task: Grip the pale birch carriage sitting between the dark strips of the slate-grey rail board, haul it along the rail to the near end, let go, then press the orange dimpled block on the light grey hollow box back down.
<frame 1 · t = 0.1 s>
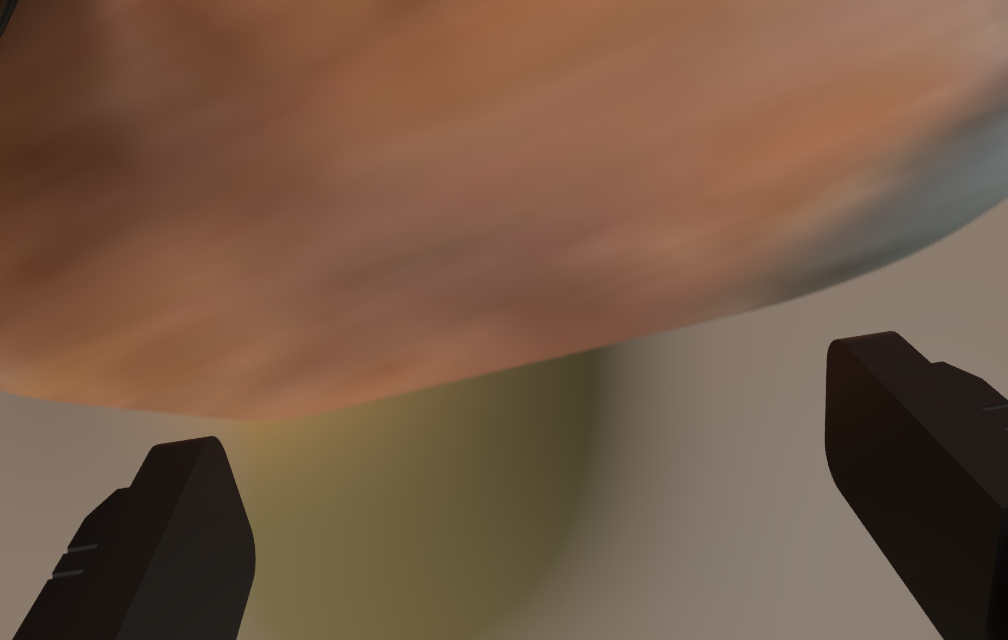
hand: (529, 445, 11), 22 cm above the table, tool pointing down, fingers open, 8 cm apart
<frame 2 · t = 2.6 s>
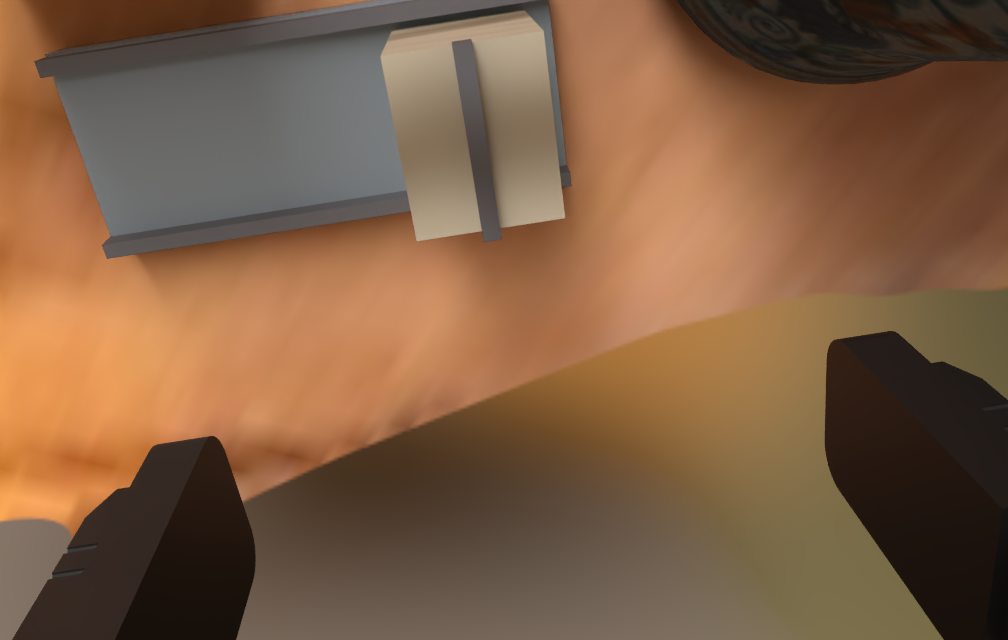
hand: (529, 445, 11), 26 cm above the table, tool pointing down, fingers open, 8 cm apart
rail: (324, 113, 35), on the table
carriage: (473, 120, 30), point 6 cm above the table, slide at 6.0 cm
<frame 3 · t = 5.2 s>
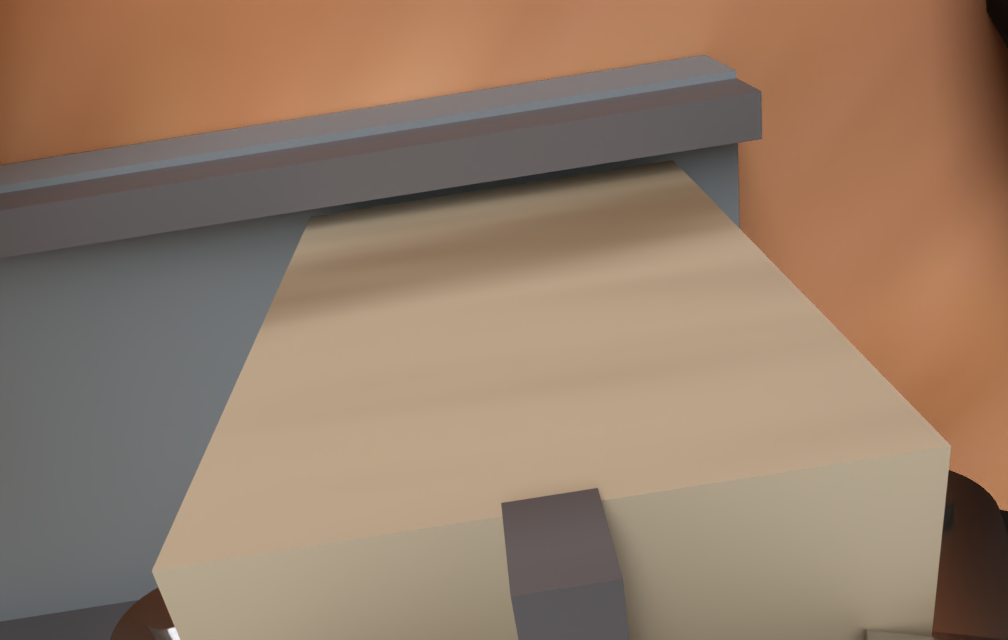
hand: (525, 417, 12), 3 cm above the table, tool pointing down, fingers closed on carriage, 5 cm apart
rail: (163, 381, 14), on the table
carriage: (550, 550, 9), point 6 cm above the table, slide at 6.0 cm, touching gripper
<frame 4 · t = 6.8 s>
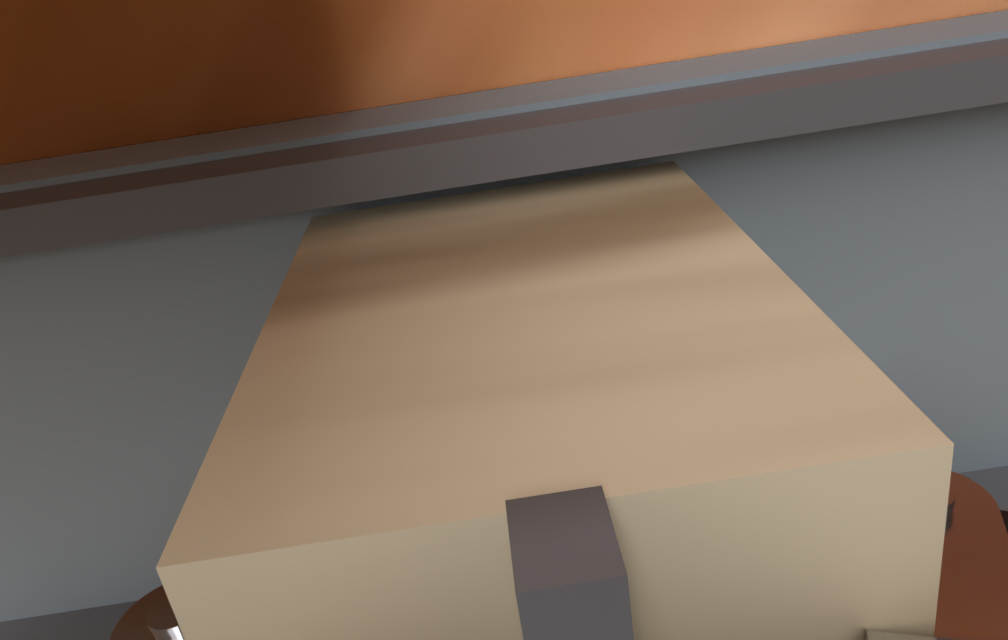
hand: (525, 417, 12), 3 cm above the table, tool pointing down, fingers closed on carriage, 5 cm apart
rail: (496, 330, 14), on the table
carriage: (551, 550, 9), point 6 cm above the table, slide at 0.3 cm, touching gripper
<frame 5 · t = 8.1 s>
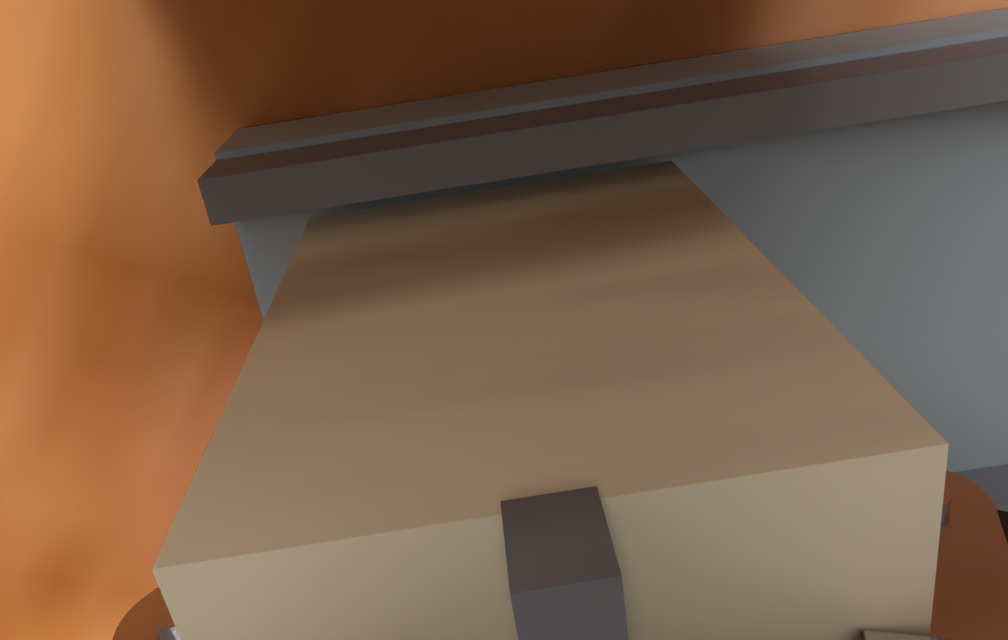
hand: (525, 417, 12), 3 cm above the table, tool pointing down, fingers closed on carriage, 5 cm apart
rail: (852, 274, 15), on the table
carriage: (549, 550, 9), point 6 cm above the table, slide at -5.9 cm, touching gripper
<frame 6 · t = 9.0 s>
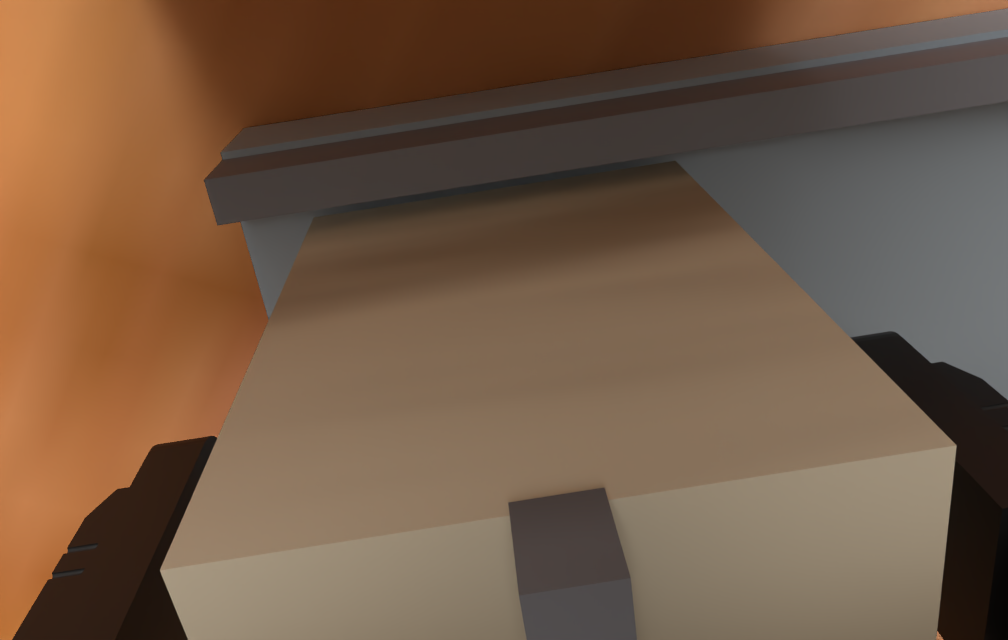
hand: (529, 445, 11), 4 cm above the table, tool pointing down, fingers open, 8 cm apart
rail: (857, 273, 15), on the table
carriage: (554, 550, 9), point 6 cm above the table, slide at -5.9 cm
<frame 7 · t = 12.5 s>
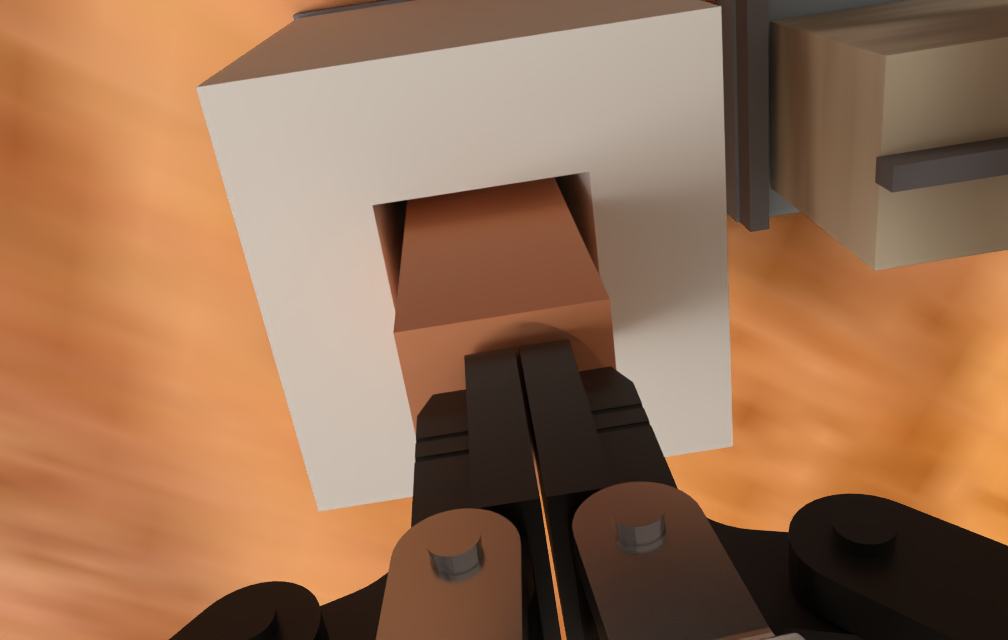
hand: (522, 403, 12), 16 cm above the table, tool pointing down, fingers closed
light grey hollow box: (472, 142, 27), on the table
carriage: (937, 120, 22), point 6 cm above the table, slide at -5.9 cm
orange dimpled block: (496, 287, 16), point 12 cm above the table, slide at 3.2 cm, touching gripper
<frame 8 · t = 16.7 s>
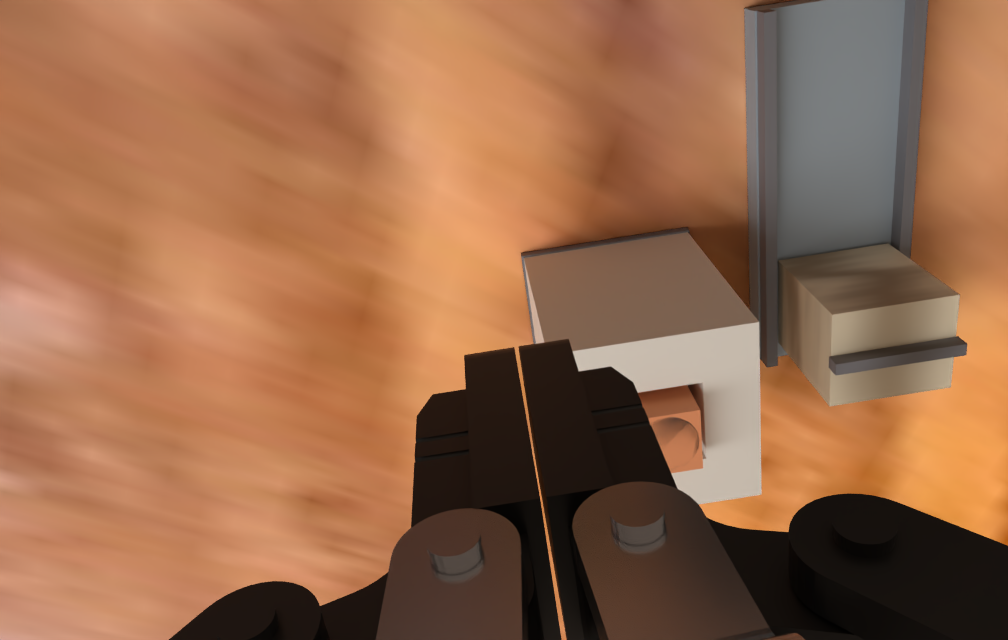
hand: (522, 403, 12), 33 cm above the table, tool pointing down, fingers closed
rail: (820, 181, 46), on the table
light grey hollow box: (611, 315, 48), on the table
carriage: (863, 324, 43), point 6 cm above the table, slide at -5.9 cm
orange dimpled block: (644, 392, 40), point 9 cm above the table, slide at 0.0 cm
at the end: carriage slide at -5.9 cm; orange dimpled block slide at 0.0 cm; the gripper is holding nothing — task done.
